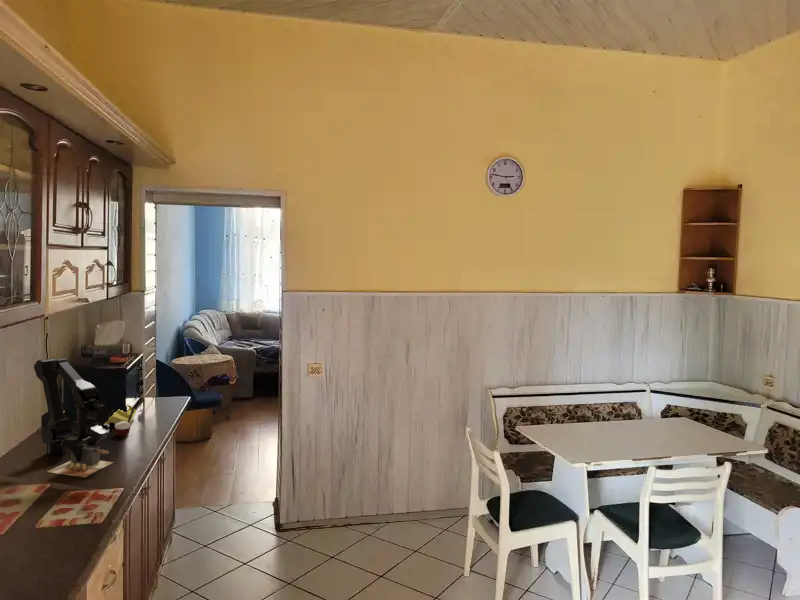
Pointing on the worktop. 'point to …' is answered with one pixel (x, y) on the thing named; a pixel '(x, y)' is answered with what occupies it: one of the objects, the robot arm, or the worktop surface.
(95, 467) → the birch board
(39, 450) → the worktop surface
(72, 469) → the header pins
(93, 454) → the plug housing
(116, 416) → the plastic component
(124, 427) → the cocoa
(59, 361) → the robot arm
